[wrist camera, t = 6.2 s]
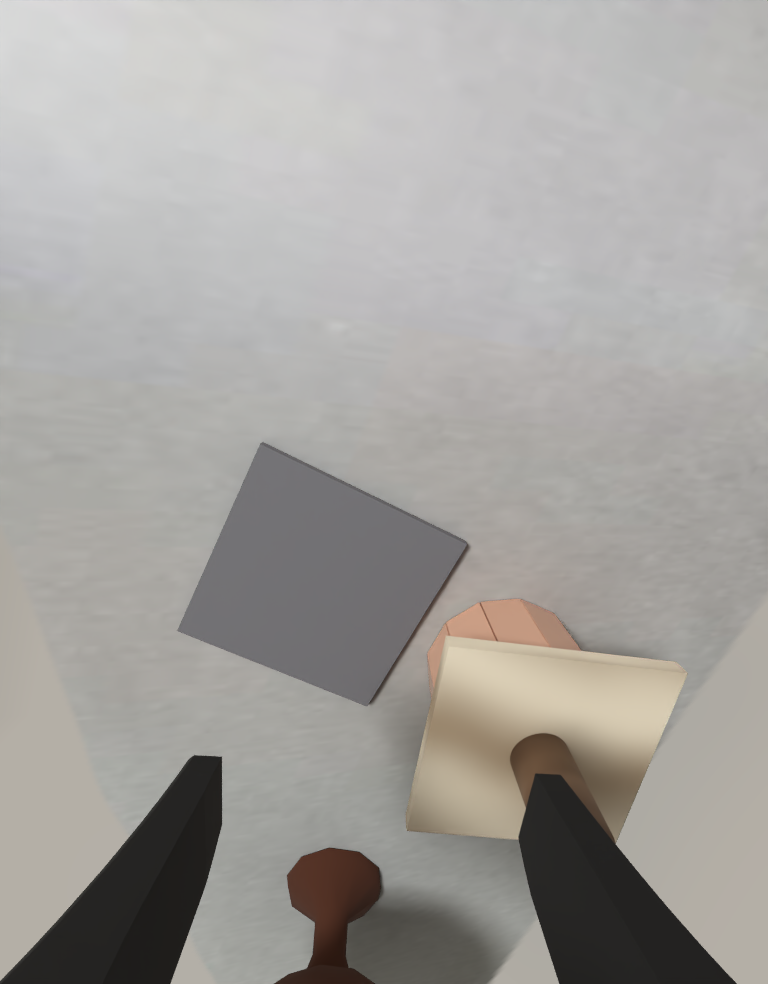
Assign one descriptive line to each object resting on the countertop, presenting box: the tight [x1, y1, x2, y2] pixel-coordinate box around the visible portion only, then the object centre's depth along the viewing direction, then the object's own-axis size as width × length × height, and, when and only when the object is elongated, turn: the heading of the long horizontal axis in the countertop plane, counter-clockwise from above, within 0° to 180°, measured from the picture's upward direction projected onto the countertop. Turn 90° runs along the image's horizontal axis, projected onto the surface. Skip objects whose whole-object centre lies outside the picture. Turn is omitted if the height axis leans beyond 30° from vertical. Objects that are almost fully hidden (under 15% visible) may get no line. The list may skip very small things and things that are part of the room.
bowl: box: [427, 599, 581, 699], centre depth 19 cm, size 7×7×4 cm
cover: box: [406, 636, 688, 844], centre depth 15 cm, size 9×9×4 cm
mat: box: [177, 442, 467, 706], centre depth 19 cm, size 10×10×1 cm
